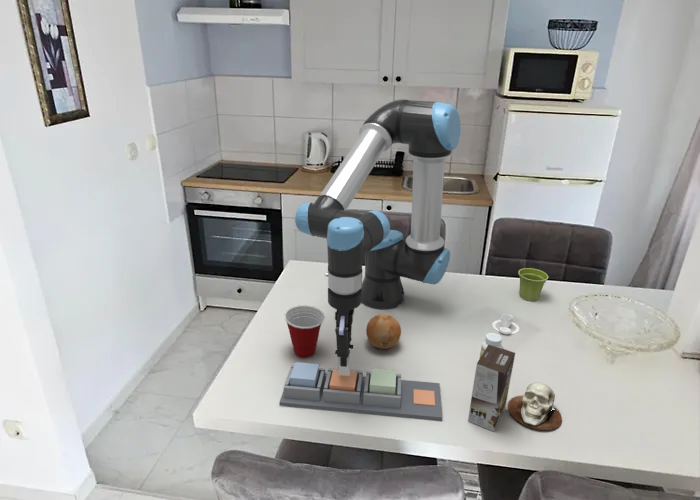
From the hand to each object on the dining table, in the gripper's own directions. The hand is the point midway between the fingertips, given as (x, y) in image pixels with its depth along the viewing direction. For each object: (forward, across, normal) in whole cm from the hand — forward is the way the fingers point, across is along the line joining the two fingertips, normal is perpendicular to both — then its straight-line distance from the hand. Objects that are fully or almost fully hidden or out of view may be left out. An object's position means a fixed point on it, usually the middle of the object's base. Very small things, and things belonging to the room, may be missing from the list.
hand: (344, 373), depth 117 cm
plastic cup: (+6, -15, -13) cm, 21 cm away
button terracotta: (+4, 0, 0) cm, 4 cm away
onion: (+7, -21, +8) cm, 24 cm away
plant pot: (+7, -56, +56) cm, 80 cm away
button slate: (+3, 0, -10) cm, 10 cm away
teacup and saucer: (+7, -35, +42) cm, 55 cm away
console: (+6, 0, +4) cm, 8 cm away
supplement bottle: (+7, -15, +37) cm, 41 cm away
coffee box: (+6, +3, +34) cm, 35 cm away
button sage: (+3, 0, +9) cm, 10 cm away
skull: (+7, +1, +45) cm, 46 cm away
